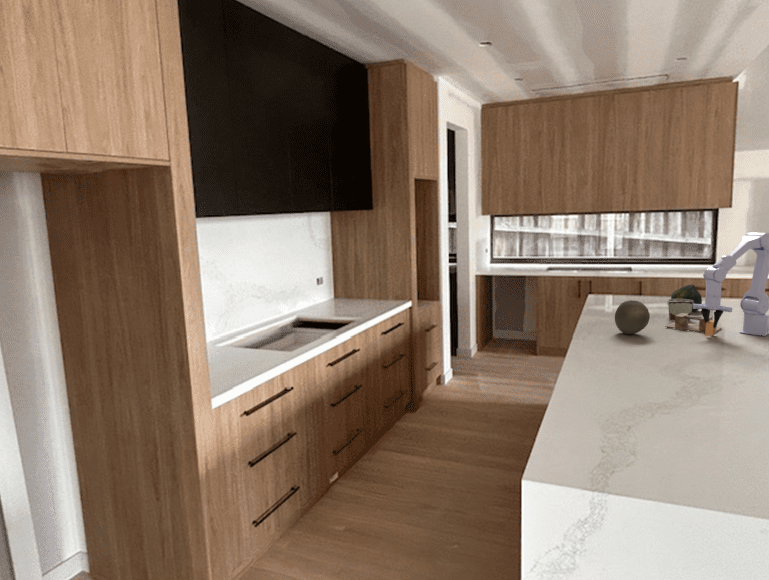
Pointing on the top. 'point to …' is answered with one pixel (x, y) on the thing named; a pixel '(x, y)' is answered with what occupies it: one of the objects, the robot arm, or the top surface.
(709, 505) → the top surface
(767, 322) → the robot arm
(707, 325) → the orange step-cut beam
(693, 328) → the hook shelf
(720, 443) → the top surface
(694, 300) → the squash
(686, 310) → the food container
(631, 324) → the cantaloupe
